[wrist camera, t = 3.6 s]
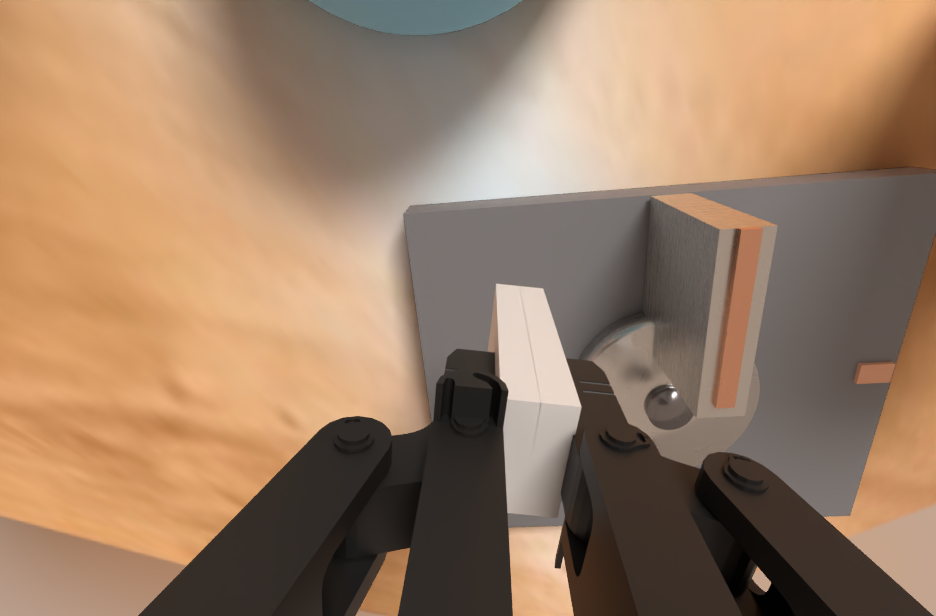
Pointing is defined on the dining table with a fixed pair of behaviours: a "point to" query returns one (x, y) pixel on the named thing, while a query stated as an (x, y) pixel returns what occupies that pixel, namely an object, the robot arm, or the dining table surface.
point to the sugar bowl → (416, 14)
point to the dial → (692, 328)
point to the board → (784, 314)
